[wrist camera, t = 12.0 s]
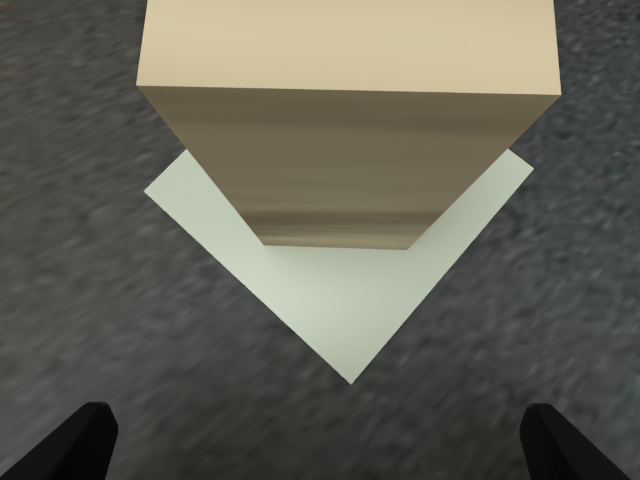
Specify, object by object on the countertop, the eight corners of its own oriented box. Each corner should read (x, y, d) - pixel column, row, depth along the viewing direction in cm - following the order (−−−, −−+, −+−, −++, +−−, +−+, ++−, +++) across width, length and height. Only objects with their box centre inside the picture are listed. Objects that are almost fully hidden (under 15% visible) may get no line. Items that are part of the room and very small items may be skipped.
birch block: (406, 250, 18) (561, 95, 6) (263, 245, 18) (135, 85, 6) (406, 118, 19) (533, -230, 7) (272, 115, 19) (179, -231, 7)
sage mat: (529, 172, 19) (533, 168, 18) (350, 383, 17) (351, 384, 17) (327, 16, 20) (326, 10, 20) (147, 194, 19) (143, 191, 18)
